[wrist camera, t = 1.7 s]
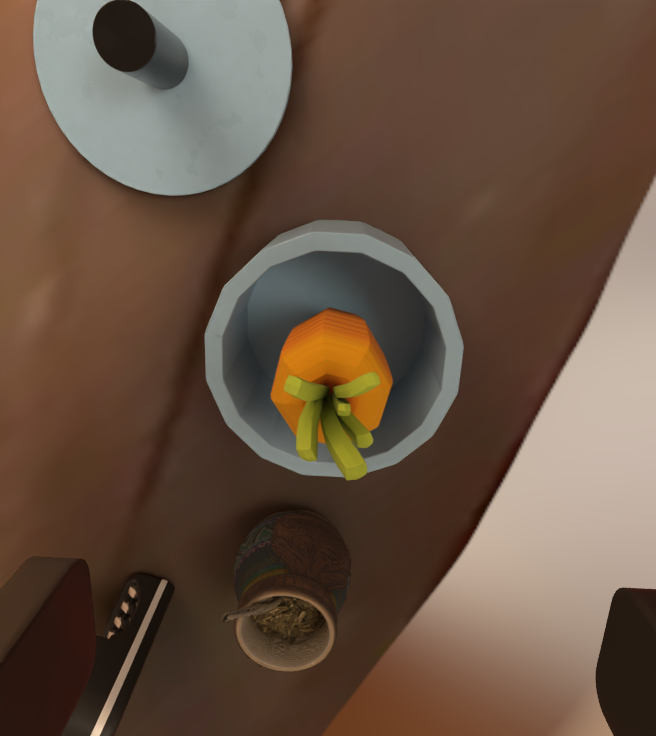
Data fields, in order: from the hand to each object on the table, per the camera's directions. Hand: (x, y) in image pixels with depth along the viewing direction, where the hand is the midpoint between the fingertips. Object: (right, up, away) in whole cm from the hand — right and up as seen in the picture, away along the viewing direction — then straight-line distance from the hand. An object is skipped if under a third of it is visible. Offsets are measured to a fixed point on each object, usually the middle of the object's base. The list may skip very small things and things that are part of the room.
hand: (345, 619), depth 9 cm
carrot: (0, +6, +24) cm, 24 cm away
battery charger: (-14, -13, +31) cm, 36 cm away
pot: (0, +6, +24) cm, 25 cm away
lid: (-8, +19, +19) cm, 28 cm away
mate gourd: (-2, -8, +29) cm, 30 cm away
